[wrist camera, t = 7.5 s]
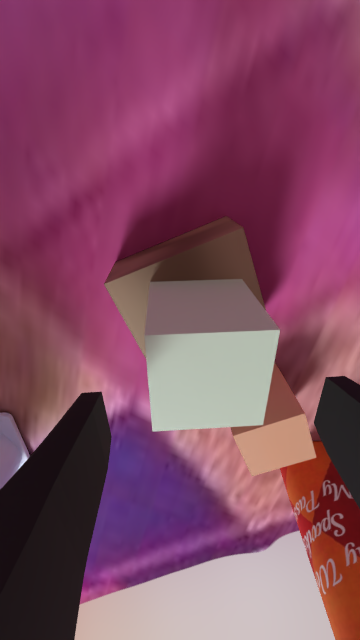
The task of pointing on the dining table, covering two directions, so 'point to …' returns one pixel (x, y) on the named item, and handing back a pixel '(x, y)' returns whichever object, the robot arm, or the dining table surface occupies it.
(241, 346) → the sage cube
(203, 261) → the walnut base
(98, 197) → the dining table surface
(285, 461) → the terracotta cube
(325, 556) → the paper cup
